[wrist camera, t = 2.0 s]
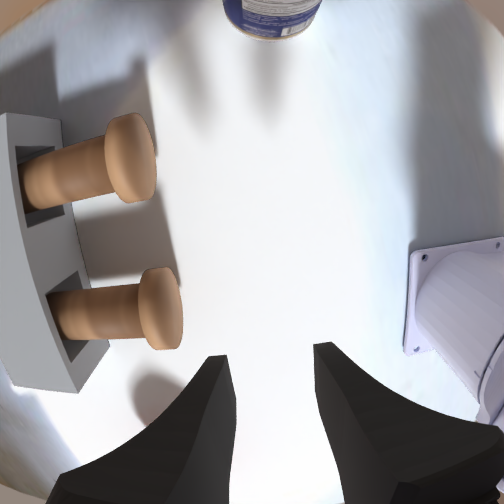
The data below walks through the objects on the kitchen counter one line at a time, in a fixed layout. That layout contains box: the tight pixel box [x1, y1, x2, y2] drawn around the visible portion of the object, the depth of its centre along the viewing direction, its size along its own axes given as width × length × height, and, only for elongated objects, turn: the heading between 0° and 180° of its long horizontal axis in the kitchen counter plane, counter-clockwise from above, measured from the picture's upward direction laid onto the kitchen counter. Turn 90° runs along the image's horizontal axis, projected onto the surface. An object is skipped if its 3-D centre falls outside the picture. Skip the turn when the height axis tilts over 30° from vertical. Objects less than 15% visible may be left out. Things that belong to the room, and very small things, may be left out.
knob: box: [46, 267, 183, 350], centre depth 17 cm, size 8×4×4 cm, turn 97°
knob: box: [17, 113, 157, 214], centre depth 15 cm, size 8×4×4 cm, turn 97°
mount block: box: [0, 112, 110, 394], centre depth 16 cm, size 6×16×6 cm, turn 7°
